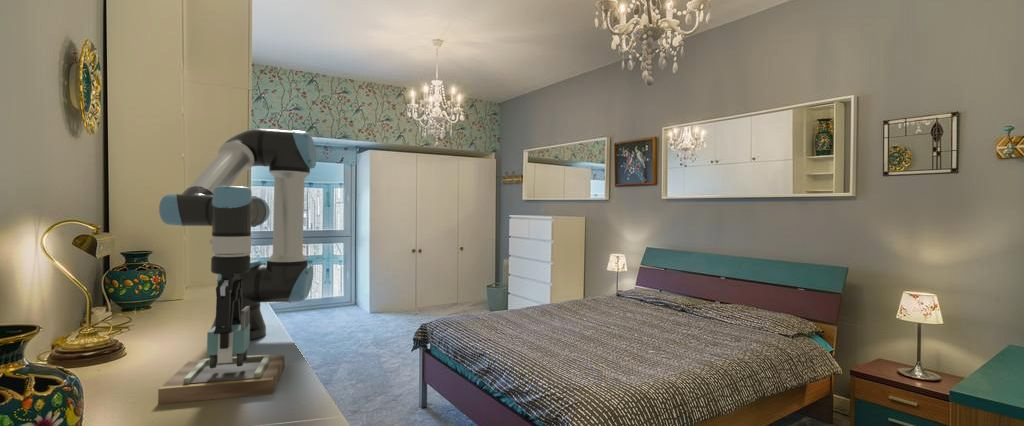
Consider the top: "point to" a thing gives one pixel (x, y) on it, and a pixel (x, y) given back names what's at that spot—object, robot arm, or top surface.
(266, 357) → the dock
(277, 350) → the top surface
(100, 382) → the top surface
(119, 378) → the top surface
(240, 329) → the light blue chair
